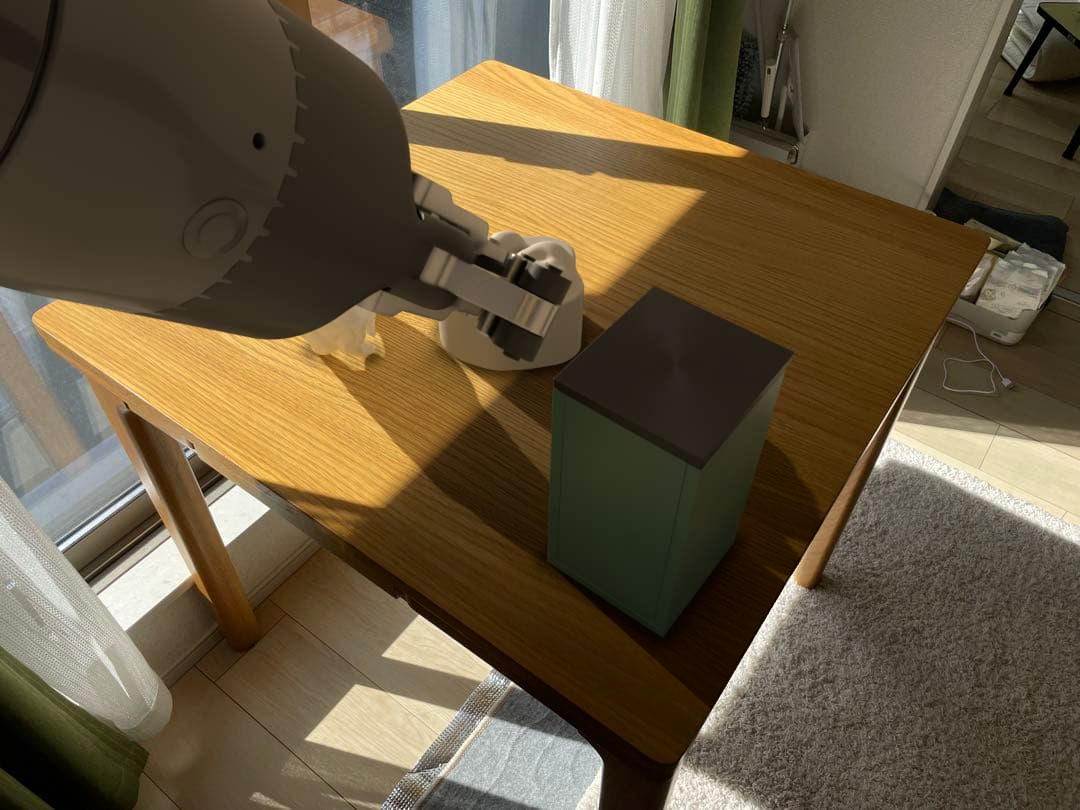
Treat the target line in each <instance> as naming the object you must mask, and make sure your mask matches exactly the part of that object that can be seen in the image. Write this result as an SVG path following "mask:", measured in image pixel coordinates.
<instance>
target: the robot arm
mask: <svg viewBox="0 0 1080 810" xmlns="http://www.w3.org/2000/svg"><path fill="white" fill-rule="evenodd" d="M489 232H490V225H489V223H488V221H486V220H485V219H483V218H481V217H479V216H478V215H476V214H474V213H472V212H471V211H468V210H467V209H465V208H464V207H462V206H459V205H458V204H456V203H454V201H453V195H452V191H450V189H448V188H446V187H445V186H442V185H441V184H439V183H437V182H436V181H434V180H432V179H431V178H428V177H427V176H424V175H423V174H420V173H419V172H416V171H415V170H412V159H411V150H410V144H409V138H408V133H407V129H406V125H405V122H404V119H403V116H402V113H401V111H400V109H399V107H398V104H397V102H396V100H395V98H394V96H393V95H392V93H391V91H390V90H389V88H388V86H387V85H386V84H385V82H384V81H383V80H382V79H381V77H380V76H379V75H378V74H377V72H375V70H373V68H371V66H369V65H368V63H366V62H365V61H364V60H362V59H361V58H360V57H358V56H357V55H356V54H354V53H352V52H351V51H349V50H348V49H347V48H345V47H344V46H342V45H341V44H340V43H338V42H337V41H335V39H332V38H331V37H330V36H328V35H327V34H326V33H324V32H323V31H321V30H320V29H318V28H317V27H315V26H314V25H313V24H311V23H310V22H309V21H307V20H306V19H304V18H303V17H301V16H300V15H299V14H297V13H296V12H294V11H292V10H291V9H290V8H288V7H287V6H285V5H284V4H283V3H281V2H280V1H279V0H0V287H1V288H4V289H8V290H13V291H17V292H21V293H25V294H30V295H34V296H40V297H44V298H49V299H54V300H60V301H65V302H69V303H75V304H78V305H79V304H80V305H85V306H90V307H95V308H100V309H105V310H110V311H115V312H119V313H123V314H124V313H125V314H129V315H135V316H139V317H145V318H150V319H155V320H160V321H166V322H170V323H175V324H181V325H184V326H189V327H193V328H200V329H204V330H210V331H216V332H220V333H224V334H229V335H235V336H240V337H243V338H244V337H245V338H250V339H255V340H266V341H268V340H269V341H270V340H271V341H272V340H276V341H277V340H285V339H291V338H296V337H299V336H300V337H301V336H302V335H303V334H306V333H309V332H312V331H314V330H316V329H319V328H321V327H323V326H325V325H326V324H328V323H330V322H332V321H333V320H335V319H336V318H338V317H339V316H341V315H342V314H344V313H345V312H346V311H348V310H349V309H351V308H352V307H354V306H355V305H357V306H359V307H361V308H363V309H366V310H368V311H371V312H374V313H376V315H377V314H378V315H381V316H386V317H390V318H393V317H396V316H397V315H398V314H400V313H402V312H403V313H408V314H412V315H415V316H419V317H422V318H426V319H429V320H433V321H437V322H439V321H443V320H445V319H446V318H447V317H448V316H449V315H450V313H451V312H452V311H454V310H455V311H457V312H459V313H461V314H463V315H465V316H467V315H468V314H471V315H474V316H477V317H478V316H479V317H478V322H479V323H478V325H477V327H476V332H478V333H480V334H481V335H484V336H486V337H488V338H490V339H491V341H492V342H493V344H495V345H496V346H498V347H499V348H501V349H503V350H504V351H503V352H502V354H504V355H505V356H507V357H509V358H511V359H513V360H515V361H519V360H520V358H521V359H524V360H526V361H529V362H533V361H534V359H535V357H536V355H537V353H538V351H539V348H540V346H541V344H542V342H543V340H544V338H543V337H545V336H546V334H547V332H548V330H549V328H550V326H551V324H552V322H553V320H554V318H555V316H556V314H557V312H558V310H559V308H560V307H559V306H558V305H561V304H562V302H563V300H564V298H565V296H566V294H567V292H568V290H569V288H570V286H571V284H572V281H570V280H568V279H566V278H564V277H562V276H560V275H561V273H562V272H563V270H561V269H559V268H557V267H555V266H553V265H551V264H549V263H546V264H545V267H542V266H540V265H538V264H536V263H534V262H535V261H536V259H535V258H533V257H531V256H529V255H527V254H524V253H521V256H519V255H517V254H515V253H512V252H510V253H509V251H507V250H505V249H503V248H501V247H500V245H501V244H502V243H501V242H499V241H497V240H495V239H493V238H491V236H489ZM508 254H509V255H508ZM557 304H558V305H557ZM480 312H481V313H480ZM479 314H480V315H479Z"/></svg>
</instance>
